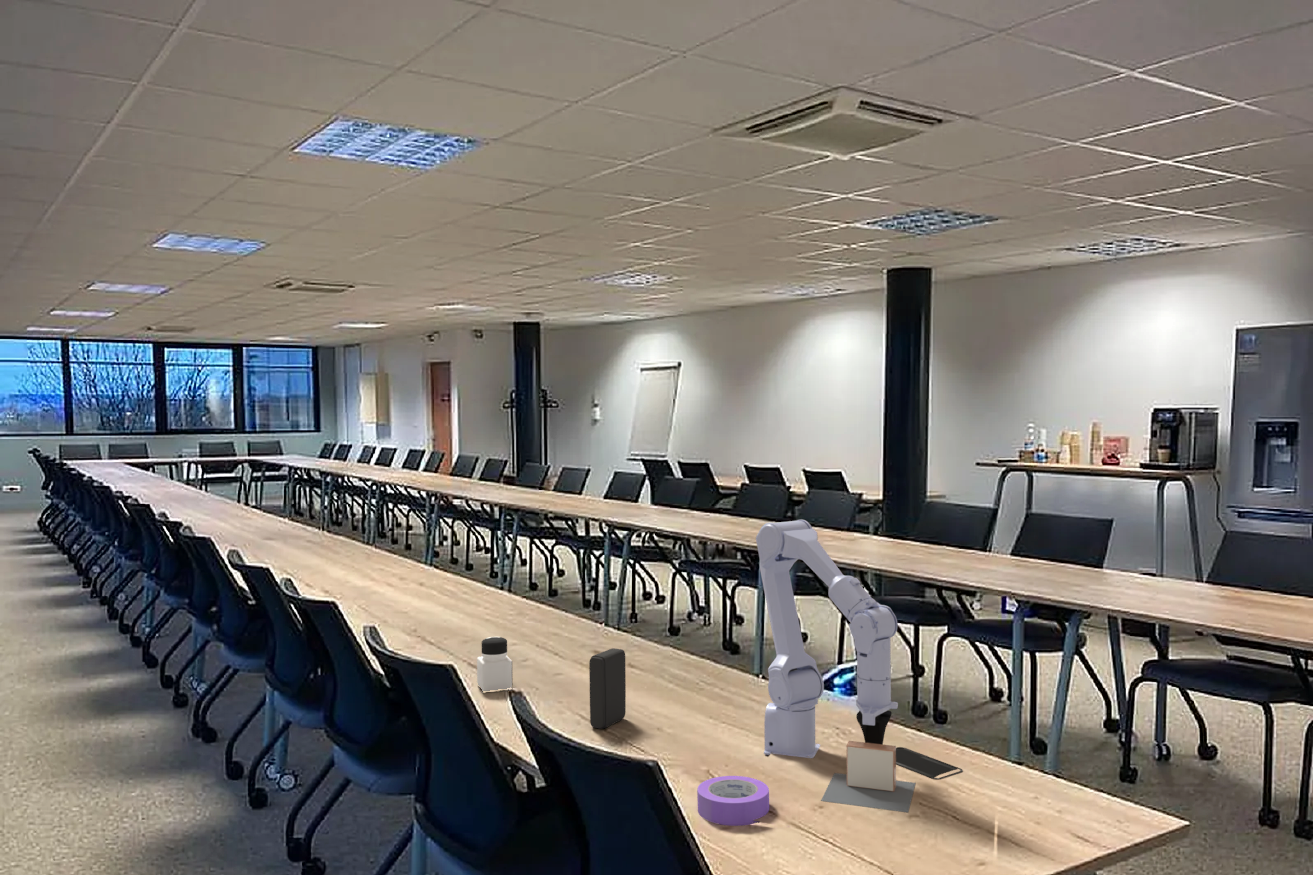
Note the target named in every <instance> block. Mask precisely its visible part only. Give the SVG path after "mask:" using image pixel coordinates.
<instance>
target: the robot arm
mask: <svg viewBox="0 0 1313 875" xmlns="http://www.w3.org/2000/svg"><path fill="white" fill-rule="evenodd" d="M818 538H819V536H818V531H816V530H815V528H813V526H812V525H811V524H810V522H808V521H807V520H805V519H796V520H792V521H791V520H789V521H781V522H766V523H764V524H763V525H762V526H761V528H759V531H758V532H757V535H756V537H755V541H756V546H757V552H758V557H759V570H760V576H761V581H762V587H763V591H764V598H765V601H766V606H767V611H768V617H769V624H770V628H771V634H772V638H773V644H774V649H775V653H776V655H775V656H776V657H775V658H774V660H773V661H772V662H771V664H770V665H769V667H768V668H767V672H768V684H767V690H768V694H769V697H770V700H771V701H772V702H769V703H767V705H766V708H765V712H764V751H763V754H764V755H767V756H771V754H773V755H783V756H790V757H799V758H807V759H813V758H814V757H815V756H816V754H817V752H818V751H819V749H820V747H821V744H819V743H816V705H818V704H819V703H818V702H819V701H818V700H819V698H821V697H822V696H823V693H824V689H825V684H824V679H823V677H822V674H821V673H820V671H819V669H818V666H817V661H816V659H815V658H814V657H812V656H811V655H810V654H808V653H807V652H806V651H805V647H804V641H803V637H802V636H803V635H802V631H801V626H800V620H799V616H798V611H797V605H796V601H795V596H794V590H793V586H792V585H793V584H792V579H791V574H790V571H791V568H793V565H794V564H795V563H796V562H797V561H798V560H801V561H803V562H804V563H805V564H806V565H807V566H808V567H809V569H811V570H812V571H813V573H815V574H816V576H817V577H818V578H819V579H820V580H821V581H822V582H824V584H826V586H827V587H828V591H827V592H828V597H829V599H830V600H831V601H832V602H833V603H834V605H835V606H836V608H838V609H839V611H840V612H841V613H842V614H843V616H844V617H845V618H846V619H847V621H849V622H850V623H849V624H848V627H849V631H850V634H851V636H852V638H853V642H854V649H855V650H856V665H857V666H856V680H857V682H856V683H857V684H856V686H857V688H856V689H857V690H856V691H857V692H856V693H857V697H856V698H857V699H856V700H855V705H856V708H857V709H858V712H857V713H856V720H857V722H858V725H859V726H860V728H861V732H862V734H863V738H864V742H865V743H874V744H883V745H884V738H885V733H886V729H887V725H888V724H889V722H890V719H891V717H892V714H893V713H892V711H891V710H896V709H898V706H899V703H898V702H896V701H892V698H891V697H892V688H891V685H892V683H891V669H892V668H891V666H892V665H891V663H892V662H891V656H892V655H891V653H892V652H891V638H892V637H894V636H895V634H896V633H897V631H898V620H897V616H896V615H895V613H894V611H893V610H892V608H891V607H890V606H888V605H885V604H881V603H879V602H878V601H876V599H874V598H872V596H870V594H869V593H868V592H867V590H865V588H863V586H862V585H861V581H860V580H859V579H858V578H857V577H855V576H852V575H844V574H843V573H842V571H841V570H840V568H838V565H836V563H835V562H834V560H833V559H832V558H831V557H830V555H829V553H827V551H826V550H825V549H824V547H823V546H822V545H821V543H820V541H818Z"/></svg>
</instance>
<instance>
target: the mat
mask: <svg viewBox="0 0 1313 875" xmlns="http://www.w3.org/2000/svg"><path fill="white" fill-rule="evenodd" d="M915 787H916V782H912V781H905V780H904V781H903V780H897V779H896V788H895V792H892V791H884V790H877V789H869V788H861V787H853V786H847V773H846V774H845V773H839V772H834V773H833V775H832V777H831V779H830V781H829V783H828V785H827V788H826V789H825V792H824V793H823V796H822V798H821V799H820V801H821V802H825V803H826V802H827V803H832V804H833V803H834V804H841V805H847V806H856V807H864V808H870V809H871V808H872V809H877V810H879V809H880V810H884V811H885V810H886V811H892V812H893V811H894V812H898V813H899V812H900V813H909V810H910V806H911V803H912V800H913V795H914V792H915Z"/></svg>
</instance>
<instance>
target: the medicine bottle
mask: <svg viewBox="0 0 1313 875" xmlns="http://www.w3.org/2000/svg"><path fill="white" fill-rule="evenodd" d="M476 670H477V671H476V674H477V676H476V677H477V678H476V680H477V681H476V682H477V683H478V685H479V686H480V687H481V689H482V691H490V690H498V689H507V688H510V687H511V688H512V690H513V688H514V687H513V680H514V679H513V660H512V659H511V658H510V657H509V656H508V640H507V639H506V638H505V637H502V636H489V637H486V638H484V639H482V641H481V656H478V657H476ZM478 685H477V686H478ZM508 690H509V689H508ZM482 691H481V692H482ZM509 691H510V690H509Z"/></svg>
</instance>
